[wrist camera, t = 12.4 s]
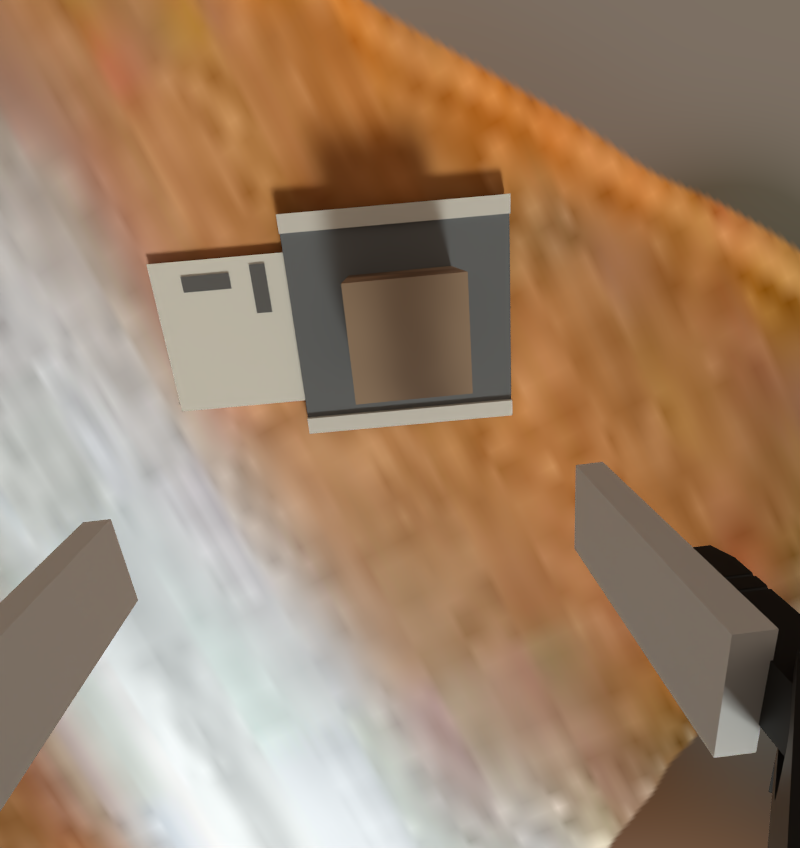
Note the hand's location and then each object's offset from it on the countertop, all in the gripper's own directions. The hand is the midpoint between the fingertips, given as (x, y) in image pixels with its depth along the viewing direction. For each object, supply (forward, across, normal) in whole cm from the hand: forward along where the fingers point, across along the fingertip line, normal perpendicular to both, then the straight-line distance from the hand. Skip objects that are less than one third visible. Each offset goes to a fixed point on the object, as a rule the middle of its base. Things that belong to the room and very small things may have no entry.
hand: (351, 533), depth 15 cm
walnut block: (+18, +3, +3) cm, 19 cm away
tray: (+19, +3, +3) cm, 19 cm away
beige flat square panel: (+19, -7, +3) cm, 21 cm away
